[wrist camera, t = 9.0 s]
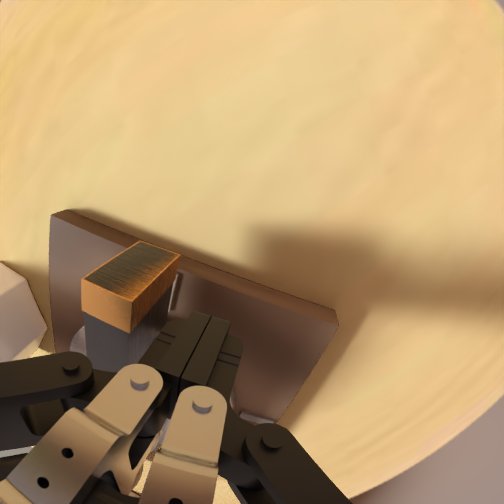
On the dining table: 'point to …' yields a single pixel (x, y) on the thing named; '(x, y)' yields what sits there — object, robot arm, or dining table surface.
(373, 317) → the dining table surface
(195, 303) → the base
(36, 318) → the jar
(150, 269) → the knob
